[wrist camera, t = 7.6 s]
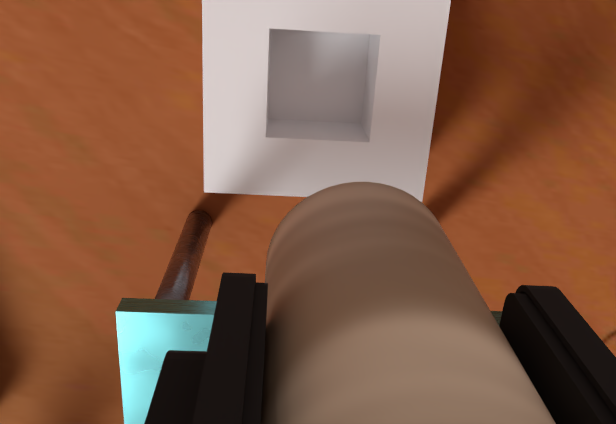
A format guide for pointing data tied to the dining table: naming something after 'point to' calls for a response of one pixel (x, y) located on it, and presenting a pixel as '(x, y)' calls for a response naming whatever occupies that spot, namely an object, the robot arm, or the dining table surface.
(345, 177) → the socket block
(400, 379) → the peg
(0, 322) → the dining table surface
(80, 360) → the dining table surface
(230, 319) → the robot arm
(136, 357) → the small teal stool
